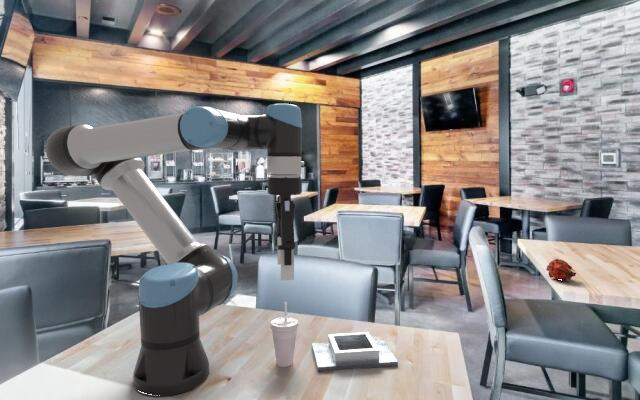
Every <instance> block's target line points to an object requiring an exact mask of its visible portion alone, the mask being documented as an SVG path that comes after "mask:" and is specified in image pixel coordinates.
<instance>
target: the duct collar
mask: <svg viewBox="0 0 640 400" xmlns="http://www.w3.org/2000/svg"><path fill="white" fill-rule="evenodd" d="M327 338H328V342H316V343H311V351H312V354H313V357H314V360H315V364H316V368H317V372H329V371H330V372H332V371H333V372H334V371H346V370H359V369H372V368H388V367H399V361H398V359H397V358H396V356H395V355H394V353H393V352H392V351H391V349H390V348H389V347H388V345H387V343H386V342H385V341H384V338H383V339H378V338H377V339H373V337H372V335H371V334H370V332H369V331H366V332H364V331H363V332H349V333H345V332H344V333H330V334H328V337H327Z"/></svg>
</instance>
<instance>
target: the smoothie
mask: <svg viewBox="0 0 640 400" xmlns="http://www.w3.org/2000/svg"><path fill="white" fill-rule="evenodd" d="M283 304H284V316H280V317H276V318H274V319H272V320H270V326H269V327H270V329H271V332H272V339H273V346H274V347H273V348H274V354H275V360H276V365H277V366H278V367H280V368H287V367H290V366H292V365H294V358H295V350H296V349H295V348H296V341H297V333H298V332H297V330H298V328H299V320H298V319H296V318H295V317H290V316H288V302H287V301H284V303H283Z"/></svg>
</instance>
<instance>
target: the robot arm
mask: <svg viewBox="0 0 640 400" xmlns="http://www.w3.org/2000/svg"><path fill="white" fill-rule="evenodd" d="M302 133H303V122H302V110H301V108H300V106H298V105H295V104H291V103H290V104H289V103H274V104H269V105H268V106H267V108H266V113H265V114H261V115H260V114H259V115H242V114H238V113H234V112H230V111H225V110H221V109H218V108H217V109H216V108H215V107H211V106H202V105H201V106H199V105H198V106H193V107H190V108H189V109H188V110H186V111H185V112H183V113H182V112H181V113H175V114H171V115H165V116H158V117H151V118H145V119H139V120H132V121H126V122H120V123H115V124H110V125H109V124H108V125H102V126H96V127H95V126H94V127H92V126H90V125H88V124H78V125H70V126H69V125H68V126H64V127H63V126H62V127H60V128H58V129H55V130H54V131H53V132H52V133H51V134H50V135H49V136H48V137H47V140H46V143H45V156H46V158H47V160H48V162H49V163H50V165H51V166H52V167H53V168H54V169H55V170H57V171H58V172H60V173H63V174H65V175H69V176H74V177H93V178H94V179H95V181H97V183H98V184H99V185H100V186H101V188H102V189H103V190H105V191H112V192H113V194H115V196H116V197H117V198H118V200H119V201H120V203H121V204H122V206H124V207H125V210H127V212H128V213H129V215H130V216H131V217H132V219H133V220H134V221H135V222H136V223H137V225H138V226H139V228H140V229H141V230H142V231H143V234H145V236H146V237H147V239H148V240H149V241H150V242H151V244H152V245H153V246H154V248H155V249H156V251H158V253H159V254H160V256H161V257H162V258H163V260H164V261H165V262H166V264H161V265H158V266H155V267H153V268H151V269H149V270H147V271H146V272H145V273H144V274H142V276H141V278H140V279H139V282H138V283H139V285H138V293H137V295H138V296H137V298H138V307H139V308H138V309H139V310H138V311H139V326H140V327H139V330H140V343H141V344H140V345H141V346H140V349H139V353H138V356H137V359H136V363H135V367H134V371H133V374H132V376H133V377H132V378H133V379H132V380H133V382H132V383H133V387H135V388H136V389H137V390H139V391H141V392H144V393H147V394H152V395H158V396H157V397H169V396H175V395H179V394H182V393H183V394H184V393H185V392H189V391H191V390H192V389H195V388H197V387H198V386H200V385H201V384H203V383H204V382H205V381H206V380H207V379H208V377H209V374H210V362H209V358H208V355H207V354H206V353H207V352H206V351H205V348H204V345H203V343H202V340H201V336H200V335H201V334H200V317H202V316H203V315H204V314H206V313H208V312H210V311H211V310H213V309H214V308H216V307H218V306H220V305H222V304H224V303H225V302H226V301H227V300H228V299H230V298H231V297H232V295H233V294H234V292H235V290H236V289H237V286H238V270H237V268H236V266H235V264H234V262H233V261H232V260H231V259H230V258H229V257H227V256H225V255H223V254H216V253H215V252H214V251H213V250H212V248H211V247H210V246H209V245H208V244H207V243H201V242H199V241H198V240H196V238H195V237H194V236H193V234H192V233H191V232H190V230H189V229H188V227H187V226H186V225H185V224H184V222H183V221H182V220H181V219H180V217H179V215H178V214H177V213H176V212H175V211H174V210H173V208H172V207H171V205H169V203H168V201H166V199H165V198H164V196H163V195H162V193H160V191H159V189H157V187H156V186H155V185H154V184H153V182H152V181H151V179H150V178H149V177H148V176H147V174H146V173H145V168H146V167H145V166H146V164H145V161H144V157H153V156H159V155H166V154H167V155H168V154H174V153H182V152H189V151H198V150H199V151H200V150H206V149H222V150H228V151H239V150H241V151H242V150H244V151H245V150H246V151H247V150H266V152H267V156H266V164H267V166H266V167H267V168H266V169H267V170H266V174H267V175H268V176H269V177H268V179H267V194H269V195H271V196H277V197H276V200H277V202H275V210H276V212H275V213H276V214H275V215H276V218H277V222H276V223H277V226H276V232H277V234H276V235H277V237H276V239H277V265H280V281H295V247H296V243H295V225H294V221H295V203H294V201H293V200H292V197H291V196H297V195H301V194H302V192H303V190H302V189H303V179H302V177H300V176H301V175H302V173H303V172H302V171H303V170H302V169H303V167H304V165H305V161H302V157H303V156H302V155H303V154H302V153H303V152H302V142H303V141H302V139H303V138H302V137H303V134H302ZM302 166H303V167H302ZM135 388H134V389H135ZM136 389H135V390H136ZM137 390H136V391H137ZM159 395H160V396H159Z"/></svg>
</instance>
